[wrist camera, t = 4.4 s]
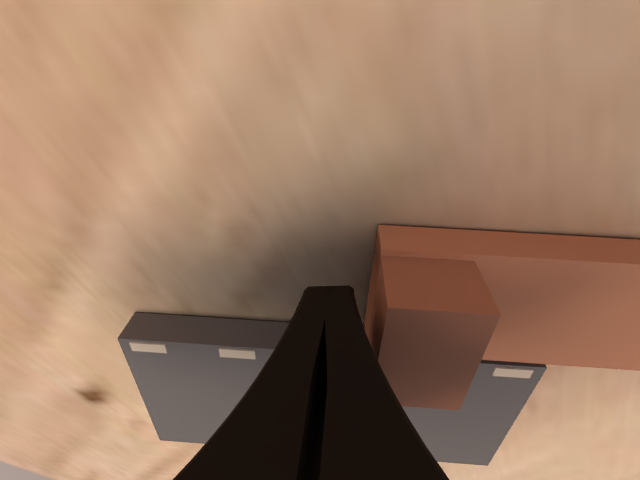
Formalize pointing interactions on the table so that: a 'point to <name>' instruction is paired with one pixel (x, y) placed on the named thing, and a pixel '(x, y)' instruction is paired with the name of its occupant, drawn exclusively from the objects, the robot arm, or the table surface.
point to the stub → (497, 306)
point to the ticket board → (250, 357)
